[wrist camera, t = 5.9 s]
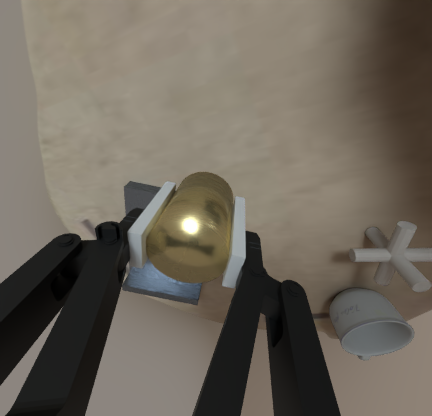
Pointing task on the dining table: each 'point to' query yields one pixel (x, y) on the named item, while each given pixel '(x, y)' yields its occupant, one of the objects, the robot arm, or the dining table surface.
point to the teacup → (368, 323)
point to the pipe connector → (395, 256)
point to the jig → (149, 276)
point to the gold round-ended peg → (194, 230)
